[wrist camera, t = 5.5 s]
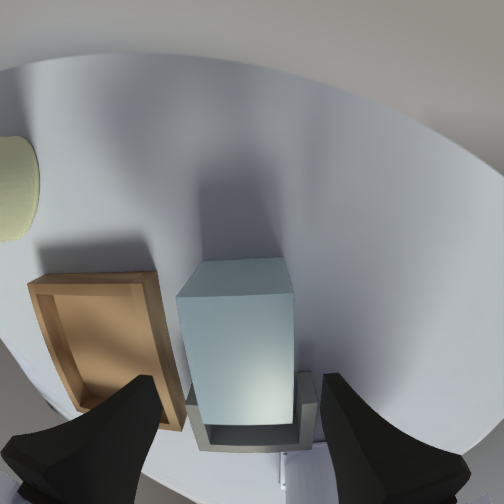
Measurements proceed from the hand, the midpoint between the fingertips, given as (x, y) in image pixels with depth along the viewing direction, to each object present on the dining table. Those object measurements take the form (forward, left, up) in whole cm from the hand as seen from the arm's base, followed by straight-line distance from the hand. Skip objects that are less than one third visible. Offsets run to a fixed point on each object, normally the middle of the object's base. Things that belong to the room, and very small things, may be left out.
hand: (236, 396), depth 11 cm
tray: (-3, +11, -8) cm, 14 cm away
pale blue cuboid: (0, 0, -8) cm, 8 cm away
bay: (-8, 0, -8) cm, 11 cm away
